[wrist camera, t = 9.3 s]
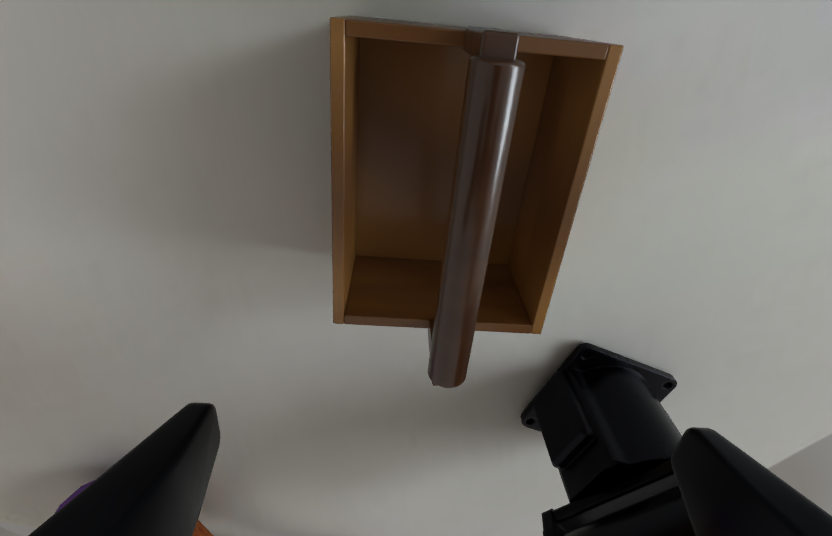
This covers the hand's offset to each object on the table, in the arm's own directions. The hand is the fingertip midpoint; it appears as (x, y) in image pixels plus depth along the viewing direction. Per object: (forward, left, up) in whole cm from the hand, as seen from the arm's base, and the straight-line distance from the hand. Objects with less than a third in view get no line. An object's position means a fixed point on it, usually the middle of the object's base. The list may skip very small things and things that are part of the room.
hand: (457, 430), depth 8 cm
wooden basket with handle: (0, -2, -12) cm, 12 cm away
